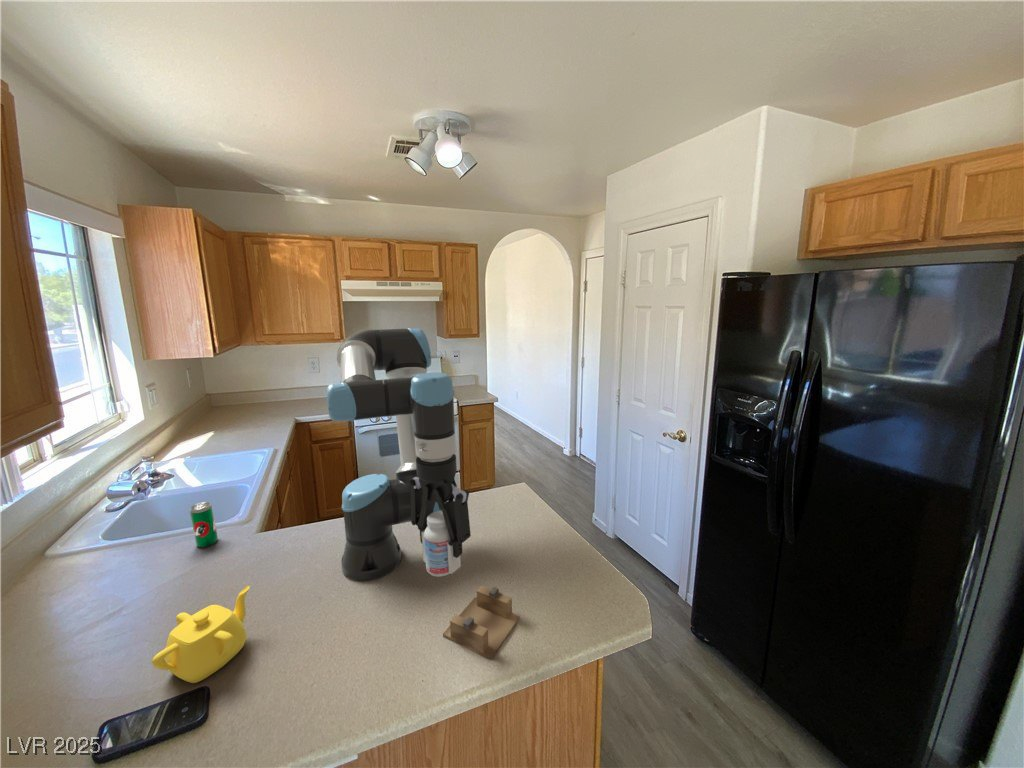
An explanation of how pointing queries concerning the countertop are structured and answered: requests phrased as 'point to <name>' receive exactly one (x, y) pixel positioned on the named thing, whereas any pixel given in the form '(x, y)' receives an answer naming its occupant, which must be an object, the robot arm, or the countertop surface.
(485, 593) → the clip stand
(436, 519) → the pill bottle
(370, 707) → the countertop surface
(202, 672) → the teapot
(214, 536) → the soda can
